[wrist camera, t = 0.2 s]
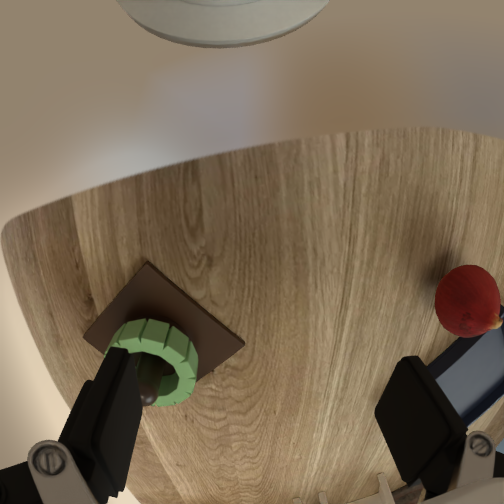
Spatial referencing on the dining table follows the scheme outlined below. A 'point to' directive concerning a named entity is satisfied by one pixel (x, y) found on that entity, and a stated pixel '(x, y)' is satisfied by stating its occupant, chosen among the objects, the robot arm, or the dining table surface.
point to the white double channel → (382, 500)
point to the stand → (168, 311)
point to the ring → (162, 355)
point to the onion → (468, 301)
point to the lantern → (407, 494)
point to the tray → (472, 372)
